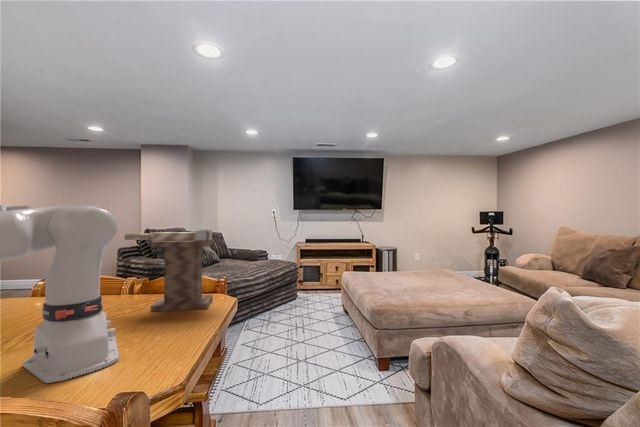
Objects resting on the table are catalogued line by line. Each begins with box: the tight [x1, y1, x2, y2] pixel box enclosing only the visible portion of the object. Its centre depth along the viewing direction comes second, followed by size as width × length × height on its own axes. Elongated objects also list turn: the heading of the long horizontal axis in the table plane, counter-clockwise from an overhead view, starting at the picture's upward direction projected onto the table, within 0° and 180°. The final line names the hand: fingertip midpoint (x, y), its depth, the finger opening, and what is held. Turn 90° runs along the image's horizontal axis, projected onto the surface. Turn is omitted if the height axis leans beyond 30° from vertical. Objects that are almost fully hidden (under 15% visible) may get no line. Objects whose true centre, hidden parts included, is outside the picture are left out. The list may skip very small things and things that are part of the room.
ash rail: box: [124, 231, 195, 242], centre depth 116 cm, size 26×4×3 cm, turn 101°
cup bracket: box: [194, 229, 213, 241], centre depth 119 cm, size 5×8×4 cm, turn 11°
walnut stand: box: [150, 238, 214, 312], centre depth 117 cm, size 20×12×26 cm, turn 101°
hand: (36, 209), depth 99 cm, fingers open, 8 cm apart
